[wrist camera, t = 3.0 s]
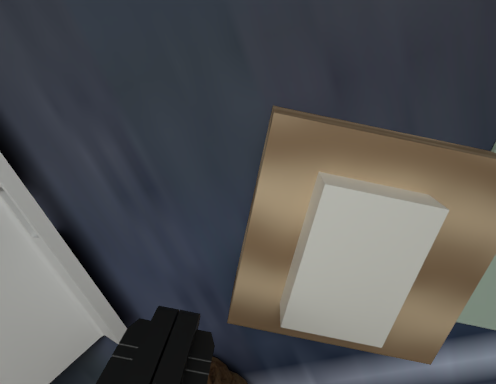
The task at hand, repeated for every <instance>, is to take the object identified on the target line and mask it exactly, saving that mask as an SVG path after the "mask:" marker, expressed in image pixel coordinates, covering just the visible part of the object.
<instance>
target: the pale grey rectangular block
mask: <svg viewBox="0 0 496 384" xmlns="http://www.w3.org/2000/svg"><path fill="white" fill-rule="evenodd" d="M448 212H449V209H448V208H446V207H445V206H444V205H442V204H441V203H439V202H438V201H437V200H435V199H434V198H433V197H431V196H430V195H429V194H424V193H419V192H414V191H409V190H405V189H400V188H395V187H390V186H385V185H381V184H376V183H371V182H366V181H361V180H357V179H352V178H347V177H342V176H337V175H333V174H328V173H323V172H318V175H317V178H316V182H315V185H314V189H313V192H312V195H311V199H310V202H309V205H308V209H307V212H306V216H305V219H304V222H303V226H302V229H301V232H300V236H299V239H298V243H297V246H296V249H295V253H294V256H293V259H292V263H291V266H290V270H289V273H288V276H287V280H286V283H285V286H284V290H283V293H282V297H281V300H280V324H281V327H282V328H287V329H292V330H296V331H301V332H306V333H311V334H316V335H321V336H326V337H331V338H335V339H340V340H345V341H350V342H355V343H360V344H365V345H370V346H375V347H379V348H382V347H383V345H384V343H385V340H386V338H387V336H388V334H389V332H390V330H391V328H392V326H393V324H394V322H395V320H396V318H397V316H398V314H399V312H400V310H401V308H402V306H403V304H404V302H405V300H406V298H407V296H408V294H409V292H410V290H411V288H412V286H413V283H414V281H415V279H416V277H417V275H418V273H419V271H420V269H421V267H422V265H423V263H424V261H425V259H426V257H427V255H428V253H429V251H430V249H431V247H432V245H433V243H434V241H435V239H436V237H437V235H438V233H439V231H440V228H441V226H442V224H443V222H444V220H445V218H446V216H447V214H448Z"/></svg>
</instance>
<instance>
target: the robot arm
mask: <svg viewBox="0 0 496 384" xmlns="http://www.w3.org/2000/svg"><path fill="white" fill-rule="evenodd" d="M199 320H200V314H199V313H194V312H188V311H183V310H180V312H179V310H178V309H173V308H168V307H162V306H158V308H157V310H156V312H155V314H154V316H153V318H152V320H151V321H149V320H144V319H138V320H137V321H136V322H135V323H134V324H132V325H131V326H130V327H129V328H128V329H127V330H126V332H125V333H124V335H123V337H122V339H121V340H120V342H119V345H118V346H117V347H116V349H115V351H114V353H113V355H112V357H111V358H110V360H109V362H108V363H107V365H106V367H105V369H104V370H103V372H102V374H101V376H100V377H99V379H98V381H97V383H96V384H207V381H208V376H209V371H210V366H211V361H212V356H213V351H214V342H213V338H212V334H211V332H206V331H201V330H198V326H199Z"/></svg>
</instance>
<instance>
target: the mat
mask: <svg viewBox="0 0 496 384" xmlns="http://www.w3.org/2000/svg"><path fill="white" fill-rule="evenodd" d="M491 152H494V153H496V142H495V144H494V146H493V148H492V150H491ZM456 322H459V323H464V324H468V325H473V326H478V327H483V328H488V329H493V330H496V255H495V256H494V258H493V260H492V261H491V263H490V265H489V267H488V268H487V270H486V272H485V273H484V275H483V277H482V278H481V280H480V282H479V283H478V285H477V287H476V289H475V290H474V292H473V294H472V295H471V297H470V299H469V300H468V302H467V304H466V306H465V307H464V309H463V311H462V312H461V314H460V316H459V317H458V319H457V321H456Z"/></svg>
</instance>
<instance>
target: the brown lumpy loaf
mask: <svg viewBox="0 0 496 384" xmlns="http://www.w3.org/2000/svg"><path fill="white" fill-rule="evenodd" d="M207 384H248V383H247V382H246V381H245V380H244V379H243V378H242V377H241V376H239V375H238V374H237V373H234V372H232V371H230V370H228V367H227V365H226V364H224V363H223V362H221V361H220V360H219V359H218V358H215V357H213V356H212V361H211V366H210V371H209V376H208V381H207Z"/></svg>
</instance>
